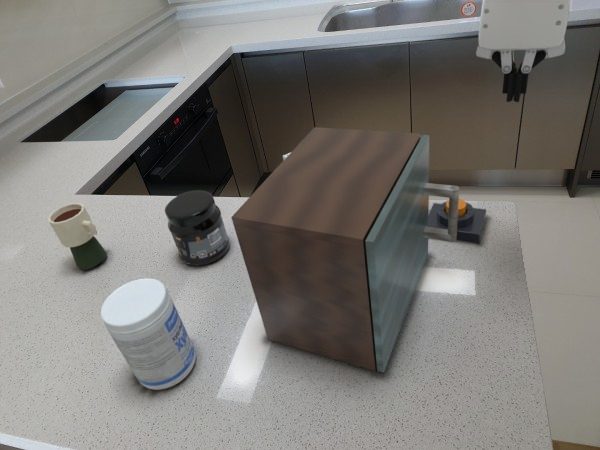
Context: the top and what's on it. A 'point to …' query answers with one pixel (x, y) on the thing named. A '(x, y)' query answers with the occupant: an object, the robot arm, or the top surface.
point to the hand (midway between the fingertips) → (513, 97)
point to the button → (460, 207)
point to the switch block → (459, 221)
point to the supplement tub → (149, 333)
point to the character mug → (77, 234)
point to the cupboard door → (403, 247)
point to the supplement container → (197, 227)
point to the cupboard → (321, 239)
